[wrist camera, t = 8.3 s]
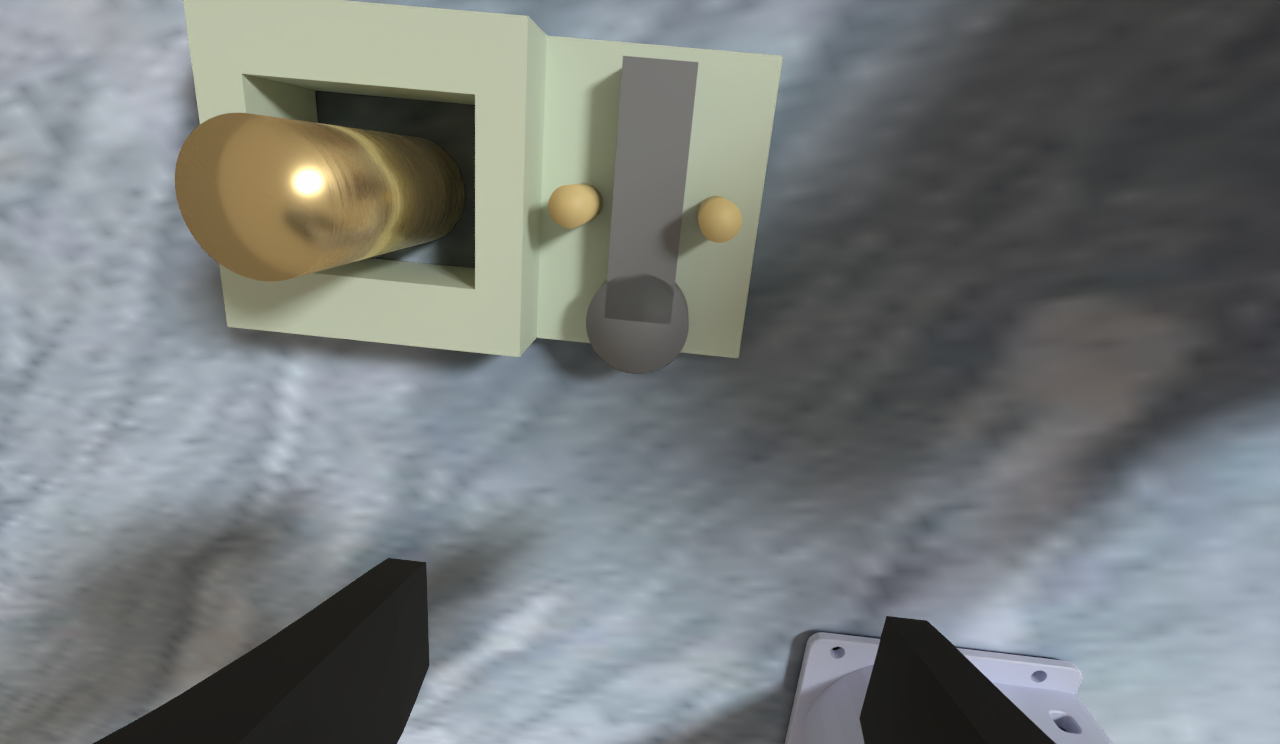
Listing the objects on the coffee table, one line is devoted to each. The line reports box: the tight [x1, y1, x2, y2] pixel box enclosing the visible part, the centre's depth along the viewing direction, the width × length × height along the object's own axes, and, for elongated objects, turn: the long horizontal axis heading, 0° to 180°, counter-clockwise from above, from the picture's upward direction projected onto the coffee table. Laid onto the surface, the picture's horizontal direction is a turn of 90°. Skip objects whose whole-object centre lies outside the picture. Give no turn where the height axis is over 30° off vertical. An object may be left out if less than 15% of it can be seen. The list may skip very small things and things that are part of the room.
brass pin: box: [175, 113, 465, 282], centre depth 14 cm, size 3×3×7 cm
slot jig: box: [183, 0, 783, 374], centre depth 16 cm, size 14×8×3 cm, turn 85°
